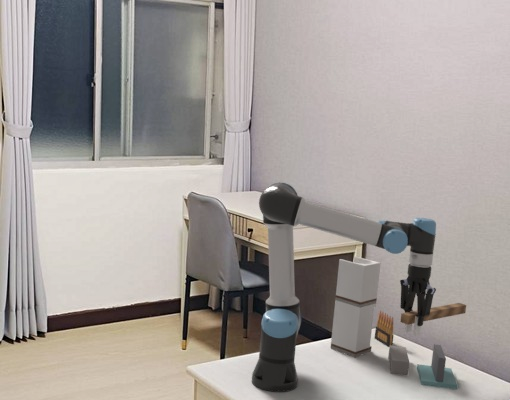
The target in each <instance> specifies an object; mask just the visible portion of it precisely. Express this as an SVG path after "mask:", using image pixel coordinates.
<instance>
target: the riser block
mask: <svg viewBox="0 0 510 400" xmlns="http://www.w3.org/2000/svg"><path fill="white" fill-rule="evenodd" d="M387 355H388V357H387V360H388V366H389V371H390V373H389V374H392V375H398V376H406V377H408V376H409V370H410V359H409V355H408V351H407V347H405V346H397V345H393V346H391V345H390V346H389V347H388V354H387Z"/></svg>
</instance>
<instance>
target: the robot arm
mask: <svg viewBox="0 0 510 400" xmlns="http://www.w3.org/2000/svg"><path fill="white" fill-rule="evenodd" d="M258 206H259V210H260V212H261V213H262V222H263V225H265V227H266V228H267V237H268V238H267V242H268V272H269V273H268V274H269V275H268V278H269V297H268V298H267V299H266V300H265V312H264V313H263V316H262V319H261V324H260V325H261V332H260V341H259V342H260V343H259V353H258V356H259V357H258V360H257V362H256V365H255V366H254V369H253V371H252V374H251V383H252V384H253V385H254V386H255V387H257V388H259V389H261V390H265V391H270V392H279V393H280V392H282V393H283V392H289V391H292V390H295V389H296V388H297V387H298V384H299V383H298V382H299V376H298V372H297V369H296V368H297V367H296V363H295V358H296V357H295V356H296V348H297V346H296V345H297V338H298V334H299V331H300V327H301V324H302V315H301V311H300V299H299V298H298V297H297V296H296V291H295V286H296V285H295V256H294V255H295V253H294V251H295V249H294V227H297V226H299V225H301V226H304V227H307V228H311V229H314V230H318V231H320V232H325V233H329V234H332V235H335V236H339V237H342V238H345V239H349V240H352V241H355V242H359V243H360V242H361V243H362V244H366V245H370V246H372V247H373V246H374V247H377V248H380V249H383V250H385V251H387V252H388V253H390V254H394V255H395V254H396V255H398V254H401V253H402V252H404V251H406V248H407V247H410V248H409V249H410V250H409V257H408V262H409V264H408V267H407V277H406V278H405V279H400V280H399V283H400V307H399V308H400V309H401V310H403V311H404V313H406V312H411V311H414V310H413V307H414V302H415V298H416V297H417V298H416V301H417V302H416V303H417V310H416V311H417V315H416V316H415V323H413V324H408V325H407V324H404V333H408V332H413V334H412V335H413V336H420V335H421V331H422V330H421V329H422V326H423V325H424V321H423V320H424V316H429V315H430V310H431V308H432V304H433V299H434V295H435V293H436V292H437V291H436V290H437V288H435V287H432V286H431V284H430V278H431V276H432V265H433V257H434V248H435V241H436V236H437V235H436V231H437V222H436V221H435V220H434V219H432V218H426V217H415V218H413V220H412V222H409V223H408V222H399V221H390V220H378V221H374V220H371V219H368V218H364V217H360V216H357V215H354V214H350V213H346V212H343V211H340V210H336V209H333V208H330V207H329V208H328V207H325V206H322V205H319V204H315V203H312V202H309V201H306V200H305V198H304V197H303V196H299V195H298V192H297V191H296V189H295V188H294V187H293V186H292V185H290V184H288V183H286V182H274V183H272V184H269V186H267V188H265V189H264V191H262V193H261V194H260V197H259V199H258ZM412 328H413V329H412ZM412 330H413V331H412Z"/></svg>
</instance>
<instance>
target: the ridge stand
mask: <svg viewBox="0 0 510 400" xmlns="http://www.w3.org/2000/svg"><path fill="white" fill-rule="evenodd" d="M446 361H447V358H446V356H445V353H444V350H443V348H442V346H441V344H433V349H432V359H431V365H427V364H426V365H425V364H417V365H416V369H417V373H418V377H419V381H420V385H422V386H426V387H427V386H428V387H435V388H442V389H452V390H458V388H459V387H458V386H459V385H458V382H457V380H456V378H455V375H454V372H453V370H452V368H450V367H446Z"/></svg>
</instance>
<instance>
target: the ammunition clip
mask: <svg viewBox="0 0 510 400" xmlns="http://www.w3.org/2000/svg"><path fill="white" fill-rule="evenodd" d="M377 316H378V318H377V323H376V326H375V330H374V331H375V332H374V340H376V341H378V342H379V343H381V344H382V345H384V346H386V347H387V348H389V346H390V345H391V346H394V345H393V342H394V334H393V333H394V317H393V316H392V317H391V315H389V314H387V313H384V311H382V310H379V312H378V315H377Z"/></svg>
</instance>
